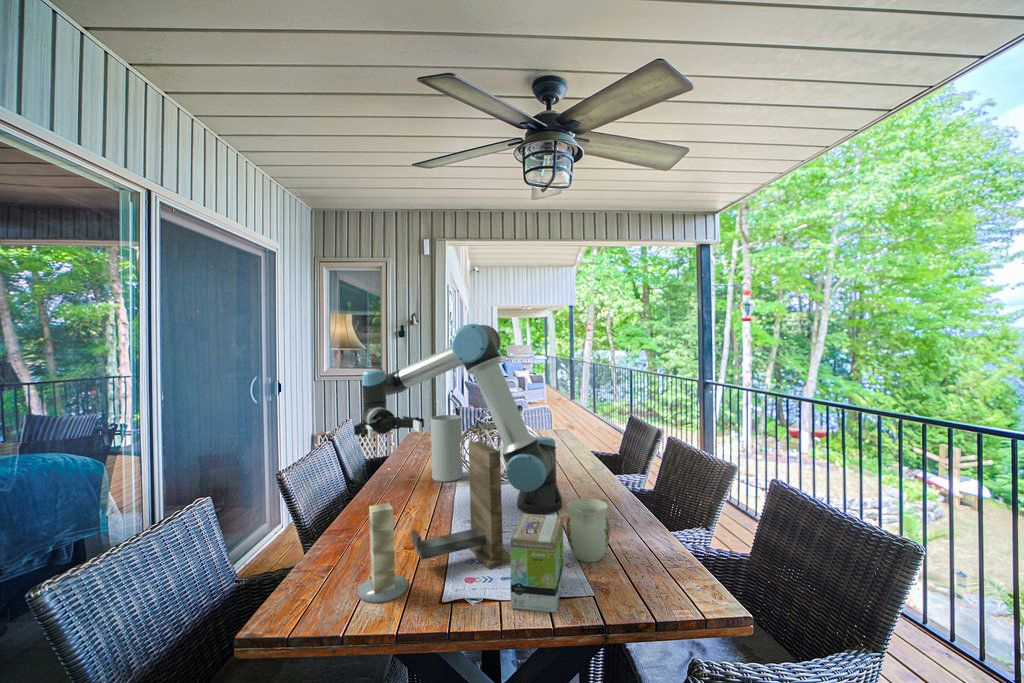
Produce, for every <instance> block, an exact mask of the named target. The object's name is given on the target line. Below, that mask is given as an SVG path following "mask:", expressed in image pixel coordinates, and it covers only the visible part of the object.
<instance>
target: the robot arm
mask: <svg viewBox="0 0 1024 683" xmlns="http://www.w3.org/2000/svg"><path fill="white" fill-rule="evenodd" d="M500 348H501V337H500V334H499V332H498V331H497V330H496V329H495V328H493V327H492V326H490V325H486V324H478V323H469V324H464V325H462V326H461V327H459V328H457V330H456V331H454V334H453V336H452V339H451V346H449V347H447V348H445V349H443V350H440V351H438V352H436V353H434V354H431V355H429V356H427V357H423V359H420V360H417V361H416V362H414V363H411V364H408V365H407V366H405V367H402V368H400V369H398V370H395V371H393V372H391V373H386V371H385V370H383V369H371V370H369V369H368V370H365V371H363V373H362V381H361V384H362V387H361V389H362V412H361V419H362V420H361V422H359V423H357V424H356V425H354V426H353V433H354V435H355V436H358V435H360V434H361V438H366V437H368V438H369V439H370V440H372V439H374V432H375V433H377V434H380V435H384V434H388V433H389V432H391V431H392V430H399V429H402V428H403V429H412V430H414V431H416V432H417V433H419V434H420V433H423V431H422V430H423V429H424V427H425V419H424V418H421V417H420V418H419V416H417V417H410V416H405V415H403V416H402V417H399V416H395V415H394V414H393V413H392V411H390V410H388V409H387V396H390V395H395V394H396V395H397V394H400V393H403V392H404V391H406V390H408V389H409V388H411V387H414V386H417V385H418V384H421V383H423V382H425V381H426V382H427V381H428V380H431V379H433V378H435V377H438V376H441V375H443V374H444V373H447V372H449V371H452V370H454V369H456V368H459V367H461V366H464V368H465V371H466V372H467V373H468V374H470V375H473V377H474V380H475V381H476V384H477V386H478V389H479V391H480V393H481V395H482V398H483V400H484V403H485V405H486V406H487V409H488V412H489V414H490V416H491V419H492V421H493V423H494V425H495V428H496V430H497V432H498V435H499V438H500V439H501V442H502V444H503V449H502V452H501V454H502V458H503V459H504V462H505V464H506V467H505V476H506V479H507V481H508V483H509V484H510V485H511V486H512V487H513V488H514V489H516V490H518V491H519V492H518V496H517V498H516V499H517V500H516V501H517V502H516V506H517V508H518V510H519V511H521V512H523V513H525V514H535V515H548V514H552V513H555V512H558V511H560V510H561V509H562V508H563V498H562V494H561V493H560V489H559V486H558V483H557V457H556V454H557V453H556V452H557V450H556V449H557V446H556V441H555V439H554V438H552V437H545V436H544V437H543V436H533V435H531V434H530V432H529V430H528V428H527V425H526V423H525V421H524V419H523V417H522V414H521V412H520V409H519V408H518V405H517V402H516V401H515V398H514V396H513V393H512V391H511V389H510V387H509V385H508V383H507V380H506V378H505V374H504V373H503V371H502V369H501V366H500V361H501V358H502V357H501V355H500V352H499V351H500ZM422 428H423V429H422Z"/></svg>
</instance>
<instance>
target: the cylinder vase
mask: <svg viewBox="0 0 1024 683" xmlns="http://www.w3.org/2000/svg"><path fill="white" fill-rule="evenodd" d="M462 434H463V431H462V416H461V415H458V414H443V415H442V414H441V415H435V416H431V417H430V441H431V442H430V444H431V446H430V447H431V477H432V480H433V481H435V482H440V483H449V482H456V481H458V480H460V479H462V477H464V476H463V475H464V474H463V473H464V472H463V470H464V469H463V468H464V467H463V463H462V464H461V461H460V455H459V454H460V443H461V439H462V440H463V437H462V436H463V435H462Z"/></svg>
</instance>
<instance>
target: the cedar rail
mask: <svg viewBox="0 0 1024 683" xmlns="http://www.w3.org/2000/svg"><path fill="white" fill-rule="evenodd" d="M368 512H369V513H368V518H369V520H368V521H369V522H368V523H369V550H370V551H369V552H370V553H369V554H370V555H369V556H370V560H369V561H370V579H371V585H372V588H373V591H374V593H375V594H376V593H380V592H383V591H387V590H391V589H395V575H396V574H395V573H396V571H395V570H396V569H395V568H396V567H395V534H394V533H395V531H394V530H395V529H394V528H395V526H394V508H393V507H392V505H391V503H390V502H386V503H379V504H373V505H369V506H368Z"/></svg>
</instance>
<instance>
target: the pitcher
mask: <svg viewBox="0 0 1024 683" xmlns="http://www.w3.org/2000/svg"><path fill="white" fill-rule="evenodd" d="M608 505H609V504H608V503H607V502H605V501H604V500H601V499H596V498H589V497H587V498H586V497H585V498H584V497H583V498H582V497H581V498H575V499H572V500H569V501H568V502H567V504H566V507H567V510H568V511H567V512H568V516H567V520H566V527H565V528H566V529H565V530H566V537H567V542H568V545H569V548H570V550H571V552H572V554H573V555H574V556H575V558H576V559H577V560H579V561H582V562H585V563H596V562H599V561H601V560H602V558H603V557H604V555H605V554H606V552H607V550H608V547H609V543H610V537H611V536H610V534H611V530H610V527H611V526H610V522H609V519H608V516H607V513H608V508H609V506H608Z"/></svg>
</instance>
